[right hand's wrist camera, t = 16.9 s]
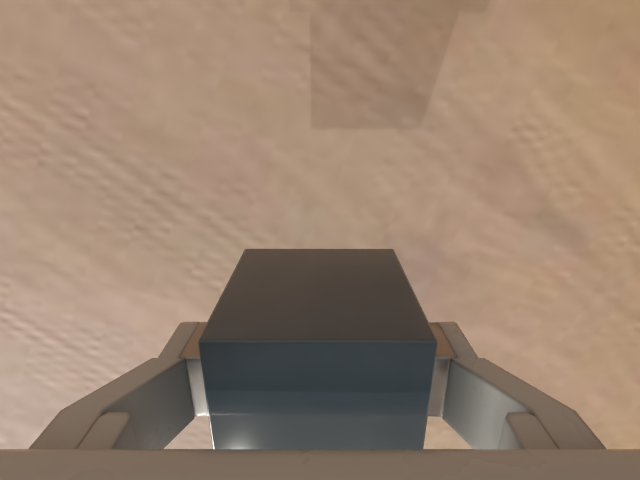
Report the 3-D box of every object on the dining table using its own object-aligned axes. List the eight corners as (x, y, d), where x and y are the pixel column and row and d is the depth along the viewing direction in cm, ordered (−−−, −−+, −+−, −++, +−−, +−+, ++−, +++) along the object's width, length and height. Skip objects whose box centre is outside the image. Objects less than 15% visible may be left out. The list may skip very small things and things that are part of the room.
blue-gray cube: (254, 368, 13) (220, 505, 9) (244, 248, 11) (196, 340, 7) (384, 369, 13) (416, 505, 9) (393, 248, 11) (438, 340, 7)
